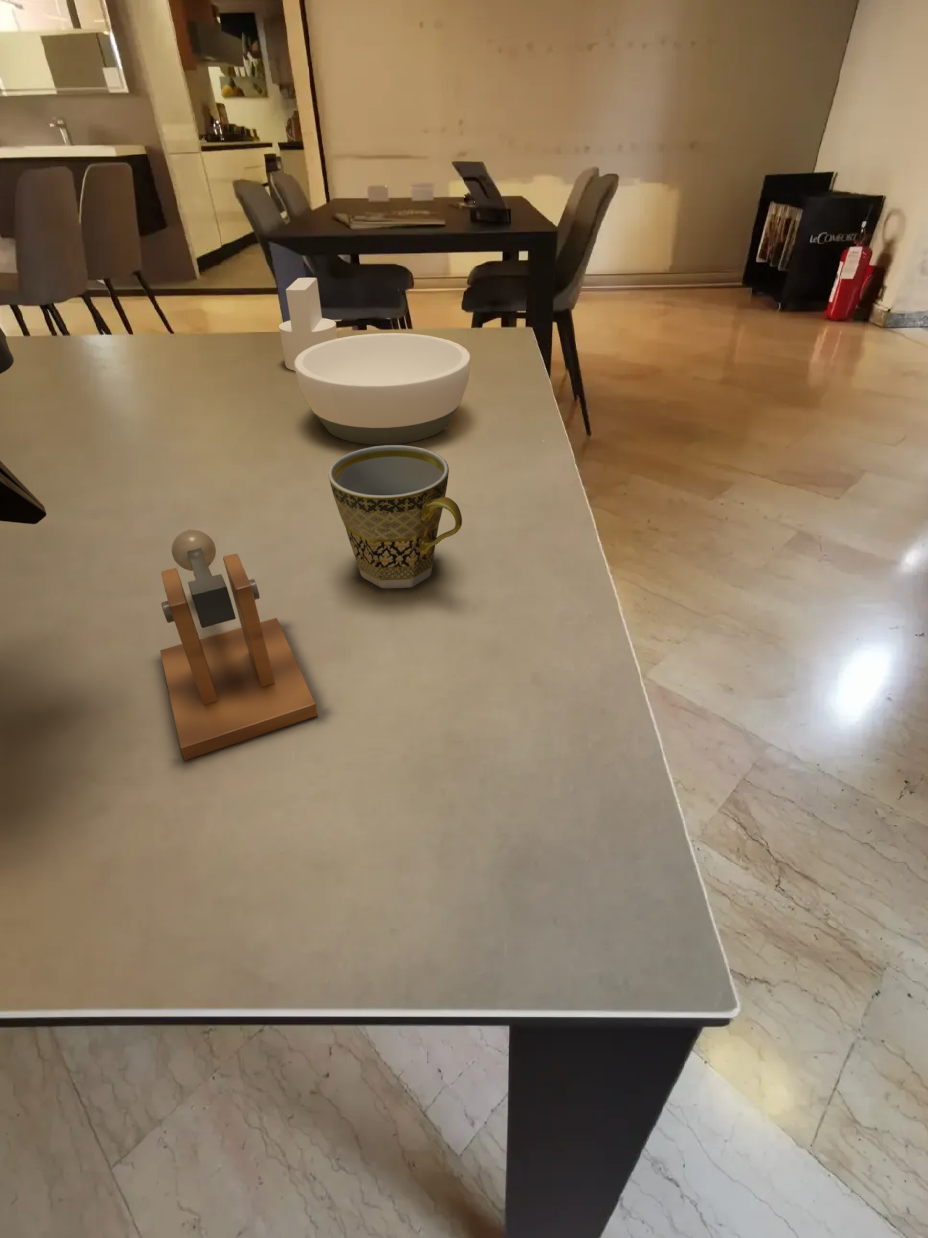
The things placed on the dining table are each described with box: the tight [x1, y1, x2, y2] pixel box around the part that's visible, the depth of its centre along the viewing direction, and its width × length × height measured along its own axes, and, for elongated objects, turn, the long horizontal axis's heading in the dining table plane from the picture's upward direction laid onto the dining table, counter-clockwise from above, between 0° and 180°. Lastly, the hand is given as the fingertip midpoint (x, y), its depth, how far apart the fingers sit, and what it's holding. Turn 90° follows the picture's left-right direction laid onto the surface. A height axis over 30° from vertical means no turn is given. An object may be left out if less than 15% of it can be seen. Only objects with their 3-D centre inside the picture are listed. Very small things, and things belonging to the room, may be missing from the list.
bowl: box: [294, 332, 471, 446], centre depth 88 cm, size 22×22×8 cm
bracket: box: [159, 553, 319, 761], centre depth 46 cm, size 11×9×10 cm
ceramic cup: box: [328, 444, 463, 589], centre depth 58 cm, size 13×10×10 cm
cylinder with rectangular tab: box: [278, 277, 339, 372], centre depth 107 cm, size 9×9×12 cm
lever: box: [171, 529, 237, 629], centre depth 50 cm, size 16×3×3 cm, turn 26°
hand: (40, 516), depth 43 cm, fingers closed
